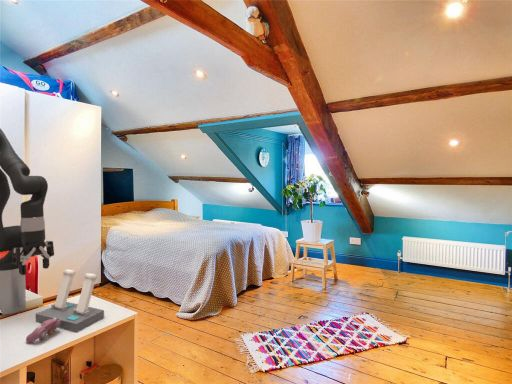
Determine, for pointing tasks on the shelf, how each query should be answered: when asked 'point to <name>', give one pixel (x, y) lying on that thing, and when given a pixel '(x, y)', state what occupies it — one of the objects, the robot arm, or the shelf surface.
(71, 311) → the switch base
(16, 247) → the robot arm
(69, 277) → the lever
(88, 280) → the lever
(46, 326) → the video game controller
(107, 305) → the shelf surface
